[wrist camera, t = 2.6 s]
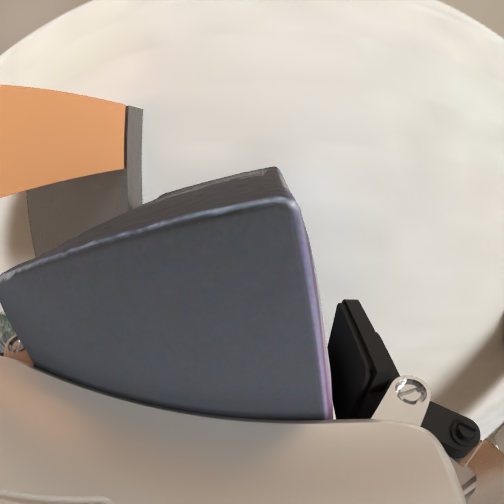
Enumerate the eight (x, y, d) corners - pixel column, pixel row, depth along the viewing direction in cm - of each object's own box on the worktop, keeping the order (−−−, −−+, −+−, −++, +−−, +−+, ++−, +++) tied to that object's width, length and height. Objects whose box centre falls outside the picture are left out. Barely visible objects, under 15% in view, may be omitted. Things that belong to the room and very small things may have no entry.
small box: (318, 344, 16) (341, 511, 6) (215, 358, 17) (173, 509, 7) (284, 161, 12) (325, 186, 2) (157, 194, 13) (-19, 283, 3)
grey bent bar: (142, 109, 12) (-16, 84, 3) (166, 382, 18) (122, 490, 9) (41, 131, 12) (-81, 147, 3) (81, 360, 18) (24, 439, 9)
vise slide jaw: (125, 104, 10) (-25, 83, 3) (123, 168, 11) (-28, 207, 4) (21, 132, 10) (-85, 148, 3) (22, 180, 12) (-83, 215, 4)
